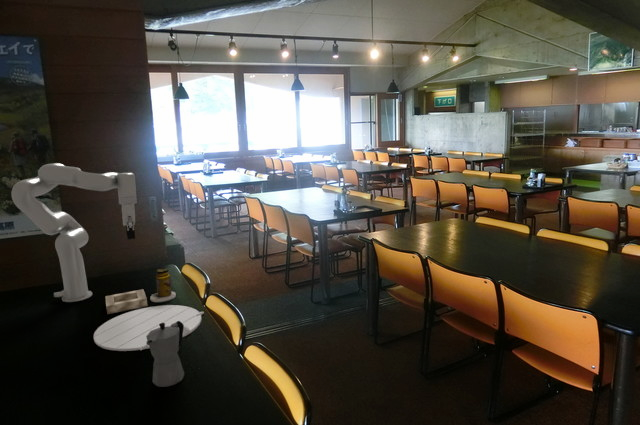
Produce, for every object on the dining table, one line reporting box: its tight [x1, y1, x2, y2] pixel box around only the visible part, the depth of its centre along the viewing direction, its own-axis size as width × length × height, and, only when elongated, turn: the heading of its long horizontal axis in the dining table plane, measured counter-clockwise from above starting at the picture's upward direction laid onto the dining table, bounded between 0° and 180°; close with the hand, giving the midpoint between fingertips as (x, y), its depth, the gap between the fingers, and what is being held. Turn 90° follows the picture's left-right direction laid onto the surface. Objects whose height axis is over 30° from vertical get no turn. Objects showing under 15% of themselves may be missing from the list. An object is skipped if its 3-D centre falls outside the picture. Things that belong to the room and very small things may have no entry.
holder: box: [104, 288, 149, 315], centre depth 200 cm, size 16×14×4 cm
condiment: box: [151, 268, 174, 299], centre depth 206 cm, size 7×8×12 cm
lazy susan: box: [93, 304, 205, 352], centre depth 176 cm, size 40×39×3 cm
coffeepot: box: [146, 321, 185, 388], centre depth 137 cm, size 15×9×18 cm, turn 159°
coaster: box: [149, 290, 177, 303], centre depth 207 cm, size 11×11×1 cm
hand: (130, 236), depth 209 cm, fingers open, 9 cm apart
